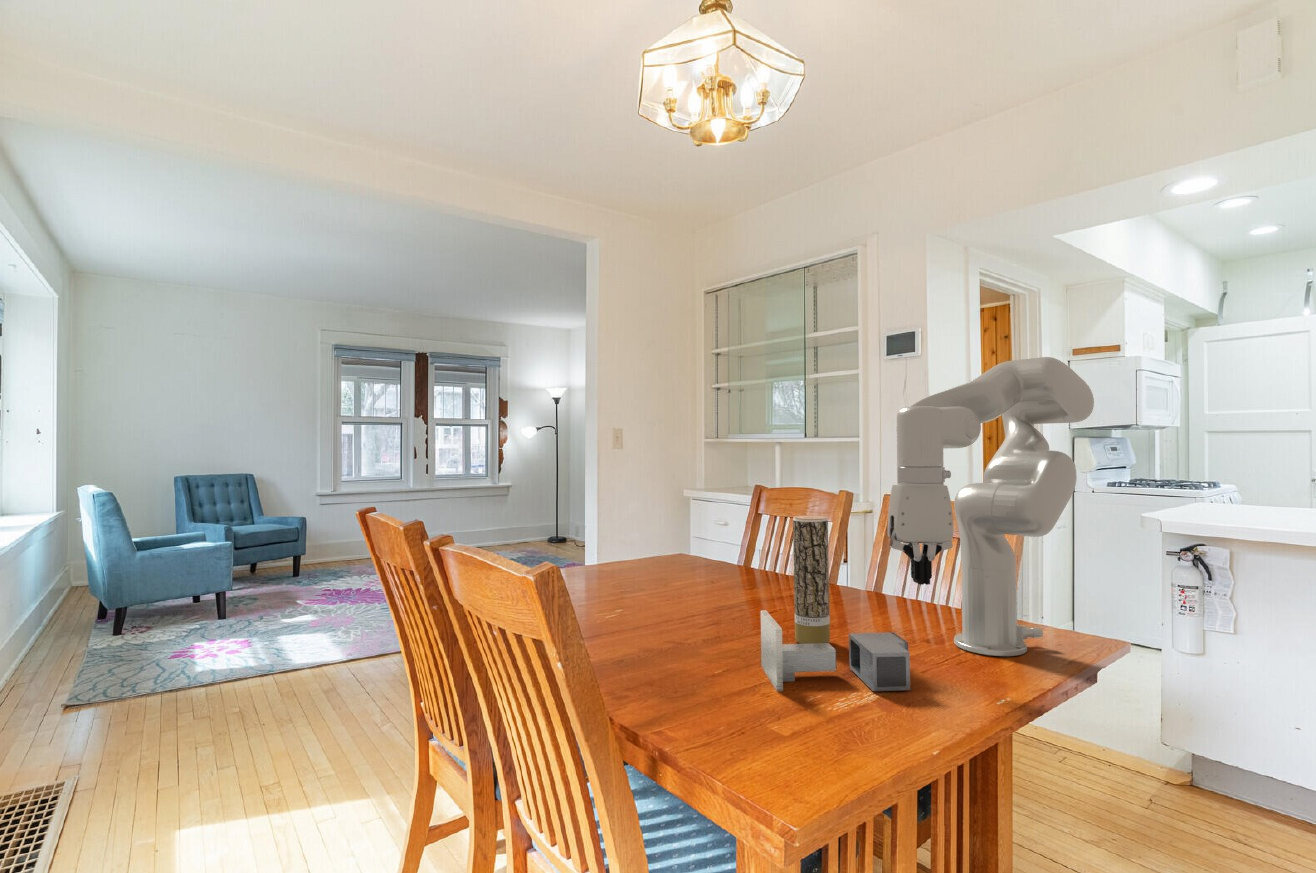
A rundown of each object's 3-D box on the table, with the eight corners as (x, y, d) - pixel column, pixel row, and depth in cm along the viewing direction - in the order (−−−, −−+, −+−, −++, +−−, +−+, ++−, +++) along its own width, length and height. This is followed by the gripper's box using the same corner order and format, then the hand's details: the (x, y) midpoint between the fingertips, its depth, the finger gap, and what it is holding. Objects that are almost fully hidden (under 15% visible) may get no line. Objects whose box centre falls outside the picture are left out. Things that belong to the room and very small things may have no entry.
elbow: (894, 666, 115) (893, 632, 115) (923, 690, 104) (922, 652, 104) (849, 667, 115) (848, 633, 115) (873, 691, 104) (872, 653, 104)
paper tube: (831, 648, 127) (828, 519, 127) (795, 646, 128) (793, 519, 129) (829, 638, 133) (826, 515, 134) (795, 636, 135) (792, 515, 135)
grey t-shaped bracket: (823, 664, 118) (822, 608, 118) (845, 689, 106) (844, 627, 106) (761, 666, 117) (760, 610, 117) (776, 691, 105) (775, 629, 105)
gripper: (951, 476, 118) (952, 578, 118) (870, 476, 117) (871, 579, 117) (973, 478, 111) (974, 587, 110) (886, 478, 110) (887, 588, 109)
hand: (921, 582), depth 114 cm, fingers closed
